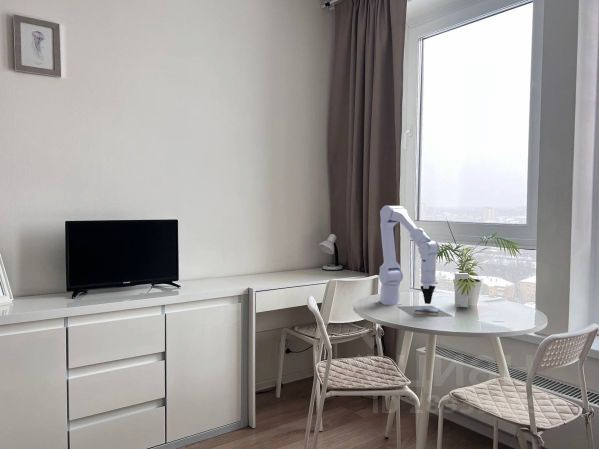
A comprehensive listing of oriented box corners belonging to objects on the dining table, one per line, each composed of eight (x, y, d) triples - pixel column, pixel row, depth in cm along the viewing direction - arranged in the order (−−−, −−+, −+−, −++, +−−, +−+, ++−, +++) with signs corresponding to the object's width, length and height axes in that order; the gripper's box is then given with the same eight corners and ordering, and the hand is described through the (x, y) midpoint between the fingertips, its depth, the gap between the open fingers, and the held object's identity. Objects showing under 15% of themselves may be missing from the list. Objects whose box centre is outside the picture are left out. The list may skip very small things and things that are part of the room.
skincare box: (468, 308, 200) (469, 274, 199) (453, 307, 202) (454, 273, 201) (469, 304, 207) (470, 271, 207) (455, 303, 210) (456, 270, 209)
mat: (396, 307, 200) (396, 306, 200) (431, 306, 203) (431, 305, 203) (414, 318, 181) (414, 317, 181) (453, 317, 183) (453, 316, 183)
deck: (416, 310, 193) (414, 313, 187) (416, 306, 193) (414, 309, 187) (439, 312, 189) (437, 315, 184) (439, 308, 189) (437, 311, 184)
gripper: (436, 273, 181) (436, 307, 182) (440, 268, 195) (439, 301, 195) (418, 272, 184) (417, 306, 184) (422, 268, 197) (422, 299, 198)
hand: (427, 303), depth 190 cm, fingers closed
